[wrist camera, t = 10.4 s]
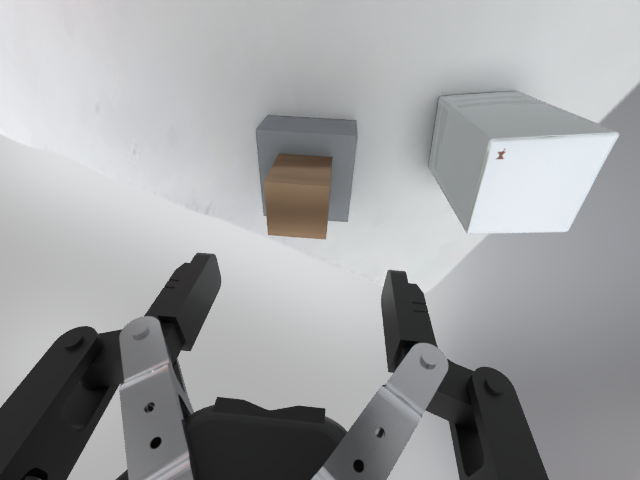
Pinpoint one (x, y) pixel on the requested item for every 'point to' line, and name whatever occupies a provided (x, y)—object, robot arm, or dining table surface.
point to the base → (312, 152)
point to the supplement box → (515, 161)
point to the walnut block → (298, 196)
